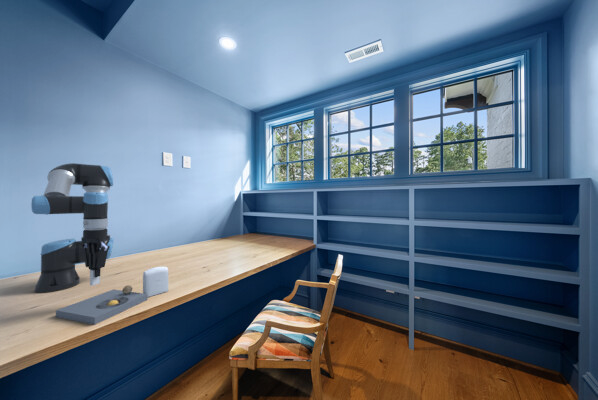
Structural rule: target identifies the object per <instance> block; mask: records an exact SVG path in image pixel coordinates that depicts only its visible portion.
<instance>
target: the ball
mask: <svg viewBox="0 0 598 400" xmlns="http://www.w3.org/2000/svg"><path fill="white" fill-rule="evenodd" d="M117 303H118V301H117V300H112V301H110V302H109V303H108V304H107V306H110V305H115V304H117Z"/></svg>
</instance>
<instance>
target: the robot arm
mask: <svg viewBox="0 0 598 400" xmlns="http://www.w3.org/2000/svg"><path fill="white" fill-rule="evenodd" d="M47 181H48V182H47V185H46V188H45V190H44V193H43V194H42V195H36V196H35V195H34V196H33V197H32V198H31V204H30V205H31V206H30V207H31V212H32V213H33V214H35V215H46V216H47V215H63V214H64V215H67V214H68V215H70V214H71V215H72V214H82V215H83V216H82V217H83V218H82V219H83V220H82V221H83V222H82V226H83V227H82V229H83V230H82V236H81V238H80V239H81V240H77V241H76V239H75V238H67V239H61V240H55V241H50V242H47V243H44V244H43V245H42V246H41V250H40V251H41V252H40V256H41V257H40V276H39V278H38V280H37V282H36V284H35V287H34V292H35V293H42V294H43V293H51V292H52V293H53V292H57V291H62V290H65V289H69V288H72V287H75V286H77V285H79V284H80V283H81V280H80V276H79V274H78V272H77V270H76V264H83V263H84V265H85V268H88V270H89V285H90V286H91V287H92V286H96V285H99V284H100V283H101V269H102V268H105V267H106V262H107V260H108V259H110V258H111V257H112V251H113V245H114V238H113V237H111V234H109V233H108V229H107V228H108V227H109V226H108V225H109V224H108V223H109V222H108V220H109V218H108V209H109V205H108V204H109V203H108V202H109V199H108V193H107V192H108V191H109V190H111V187H113V186H114V177H113V173H112V169H111V167H109V166H107V165H106V166H105V165H100V164H99V165H97V164H84V163H74V162H73V163H70V162H69V163H65V164H61V165H58V166H56V167H54V168H52V169H51V170H50V171H49V172H48V174H47ZM72 185H73V186H74V185H76V186H77V185H79V186H81V187H82V188H81V189H83V190H84V191H85V192H84V193H83V196H82V195H81V196H77V195H76V196H74V195H70V192H71V189H72Z"/></svg>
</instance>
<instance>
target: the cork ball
mask: <svg viewBox="0 0 598 400" xmlns="http://www.w3.org/2000/svg"><path fill="white" fill-rule="evenodd" d="M122 292H123V293H124V294H129V293H130V292H133V287H132V285H125V286H124V287H123V288H122Z"/></svg>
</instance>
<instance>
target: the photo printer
mask: <svg viewBox="0 0 598 400" xmlns="http://www.w3.org/2000/svg"><path fill="white" fill-rule="evenodd" d="M168 291H169V268H168V267H167V266H157V267H156V266H155V267H153V268H149V269H146V270H145V271H143V273H142V293H143V294H148V298H149V297H154V296H156V295H160V294H164V293H166V292H168Z"/></svg>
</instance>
